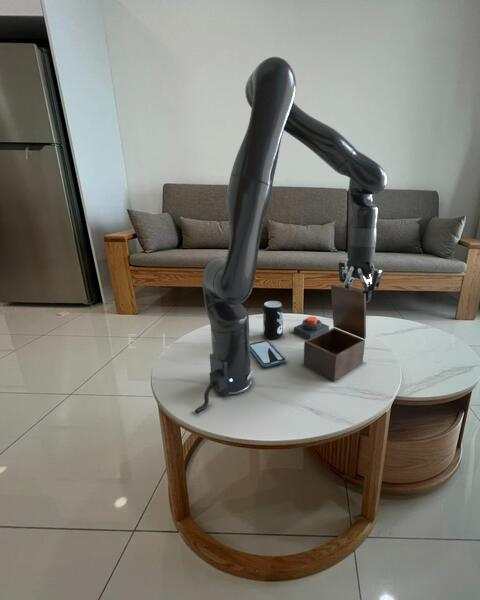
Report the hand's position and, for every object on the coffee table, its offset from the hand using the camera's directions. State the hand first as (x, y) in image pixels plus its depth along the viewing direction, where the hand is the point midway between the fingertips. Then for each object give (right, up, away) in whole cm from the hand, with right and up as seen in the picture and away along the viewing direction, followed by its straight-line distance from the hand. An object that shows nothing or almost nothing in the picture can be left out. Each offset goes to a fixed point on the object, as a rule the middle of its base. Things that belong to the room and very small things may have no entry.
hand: (356, 299), depth 95 cm
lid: (-3, -4, -2) cm, 5 cm away
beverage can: (-26, -13, +16) cm, 34 cm away
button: (-13, -8, +18) cm, 24 cm away
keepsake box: (-7, -19, 0) cm, 21 cm away
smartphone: (-28, -17, +4) cm, 33 cm away
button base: (-13, -12, +20) cm, 26 cm away
